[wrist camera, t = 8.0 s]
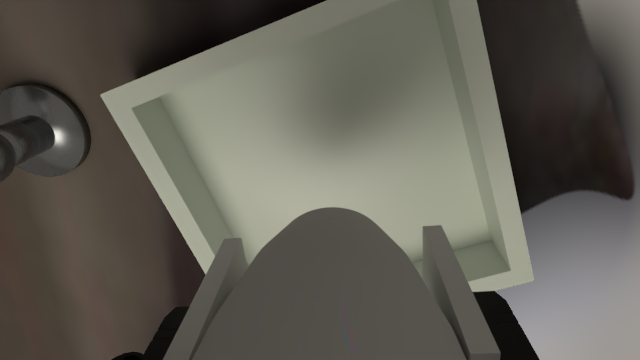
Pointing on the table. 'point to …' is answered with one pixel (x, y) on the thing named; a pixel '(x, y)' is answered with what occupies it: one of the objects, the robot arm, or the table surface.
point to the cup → (330, 299)
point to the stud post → (40, 132)
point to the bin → (336, 133)
